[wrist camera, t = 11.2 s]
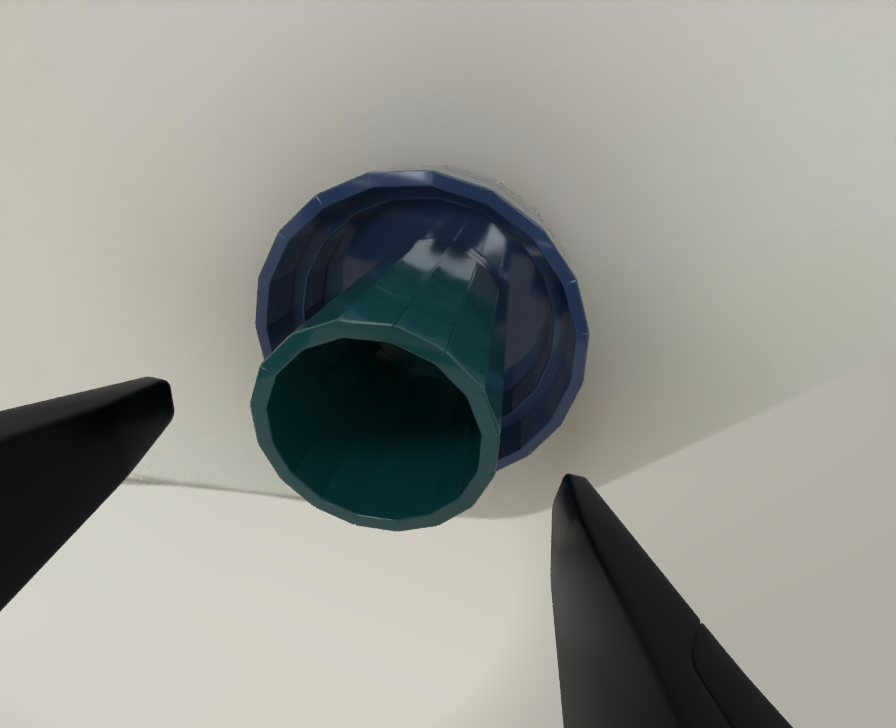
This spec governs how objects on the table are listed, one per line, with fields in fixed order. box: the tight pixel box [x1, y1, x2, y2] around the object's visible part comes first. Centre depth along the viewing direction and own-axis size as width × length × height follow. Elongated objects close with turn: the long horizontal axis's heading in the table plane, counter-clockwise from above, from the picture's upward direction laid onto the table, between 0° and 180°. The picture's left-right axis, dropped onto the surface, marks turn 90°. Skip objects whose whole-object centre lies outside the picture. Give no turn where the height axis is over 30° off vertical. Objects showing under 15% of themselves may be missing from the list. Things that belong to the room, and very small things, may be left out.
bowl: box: [255, 166, 589, 471], centre depth 15 cm, size 11×11×4 cm
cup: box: [250, 242, 508, 531], centre depth 13 cm, size 6×6×8 cm
